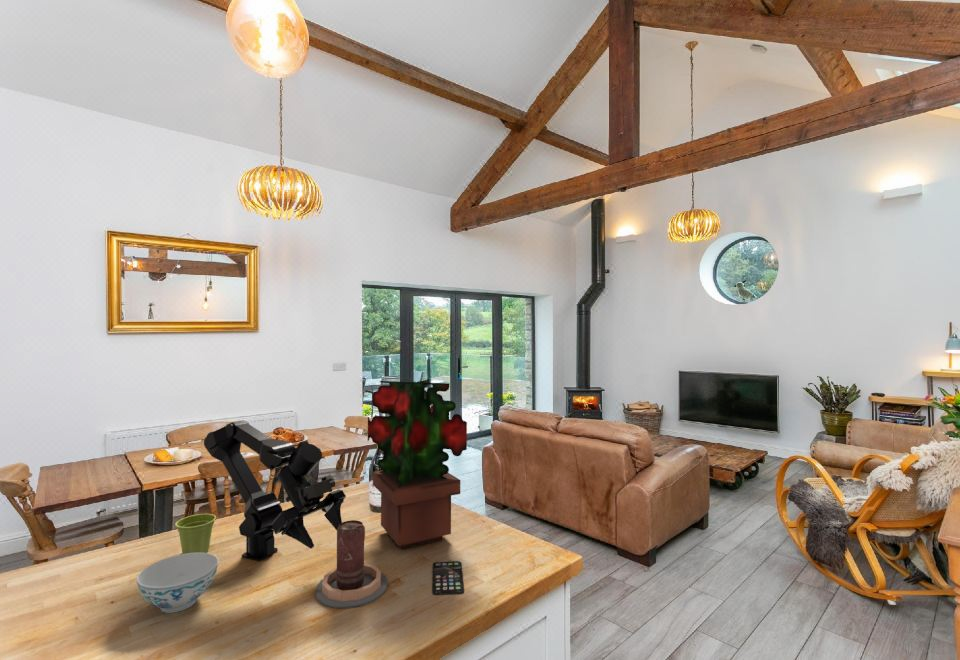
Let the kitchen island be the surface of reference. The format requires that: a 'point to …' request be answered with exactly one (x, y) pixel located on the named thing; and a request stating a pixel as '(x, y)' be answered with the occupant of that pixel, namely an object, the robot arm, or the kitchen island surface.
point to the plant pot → (195, 532)
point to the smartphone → (447, 578)
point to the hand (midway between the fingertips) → (327, 539)
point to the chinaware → (177, 580)
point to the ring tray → (351, 603)
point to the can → (350, 555)
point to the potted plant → (416, 459)
